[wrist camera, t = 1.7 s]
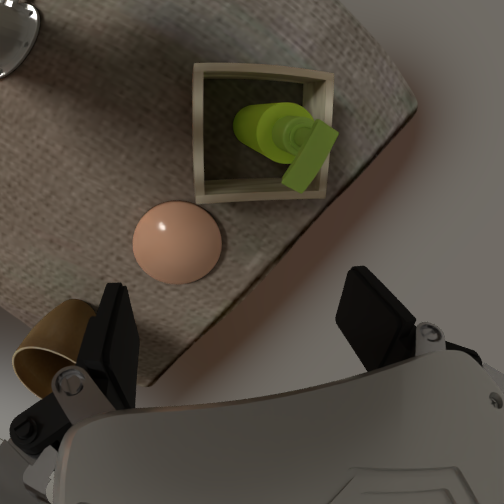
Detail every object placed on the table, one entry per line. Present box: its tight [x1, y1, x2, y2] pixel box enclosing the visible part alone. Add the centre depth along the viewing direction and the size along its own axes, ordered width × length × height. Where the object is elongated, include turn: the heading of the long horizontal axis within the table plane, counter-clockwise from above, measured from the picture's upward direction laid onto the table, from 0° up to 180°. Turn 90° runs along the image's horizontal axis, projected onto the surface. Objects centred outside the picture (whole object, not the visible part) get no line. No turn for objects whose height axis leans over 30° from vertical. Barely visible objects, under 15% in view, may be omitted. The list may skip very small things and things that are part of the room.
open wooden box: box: [192, 63, 334, 204], centre depth 32 cm, size 16×16×7 cm
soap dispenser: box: [233, 102, 339, 194], centre depth 27 cm, size 6×7×20 cm
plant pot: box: [12, 299, 96, 399], centre depth 35 cm, size 15×15×16 cm
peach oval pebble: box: [133, 200, 222, 284], centre depth 40 cm, size 13×13×1 cm
